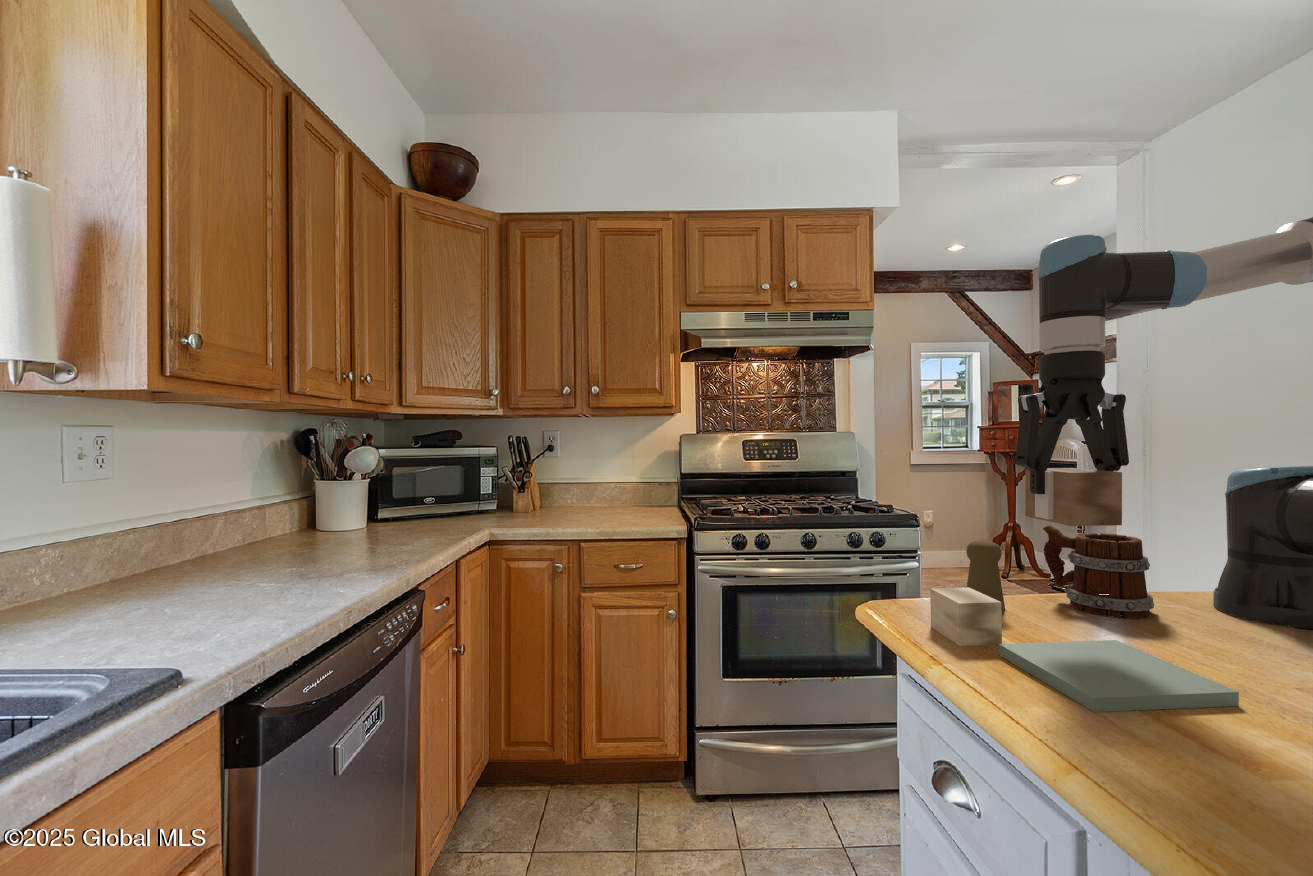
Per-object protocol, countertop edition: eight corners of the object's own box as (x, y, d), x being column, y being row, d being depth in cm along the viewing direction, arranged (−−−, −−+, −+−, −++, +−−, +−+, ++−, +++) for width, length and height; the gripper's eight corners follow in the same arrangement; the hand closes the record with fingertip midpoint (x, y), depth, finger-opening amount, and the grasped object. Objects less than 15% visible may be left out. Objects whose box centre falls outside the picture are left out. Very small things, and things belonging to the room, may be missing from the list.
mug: (1156, 624, 89) (1132, 524, 90) (1047, 620, 99) (1028, 530, 101) (1168, 608, 97) (1147, 516, 98) (1066, 605, 107) (1048, 522, 109)
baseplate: (1115, 651, 79) (1115, 640, 79) (1238, 706, 63) (1238, 692, 63) (999, 655, 78) (999, 644, 78) (1094, 712, 62) (1094, 697, 62)
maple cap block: (969, 626, 91) (968, 587, 90) (1001, 645, 83) (1001, 602, 82) (930, 627, 90) (930, 588, 90) (959, 646, 82) (959, 603, 82)
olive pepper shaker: (982, 613, 96) (981, 545, 96) (956, 603, 102) (955, 539, 102) (1014, 610, 98) (1013, 543, 98) (986, 600, 104) (985, 537, 103)
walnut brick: (1072, 515, 87) (1072, 468, 87) (1121, 525, 78) (1122, 472, 78) (1025, 516, 87) (1025, 468, 87) (1069, 525, 78) (1069, 472, 78)
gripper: (1120, 355, 86) (1120, 513, 86) (984, 356, 86) (985, 514, 86) (1165, 348, 79) (1165, 521, 79) (1017, 348, 78) (1017, 522, 79)
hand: (1071, 517), depth 83 cm, fingers closed on walnut brick, 7 cm apart
